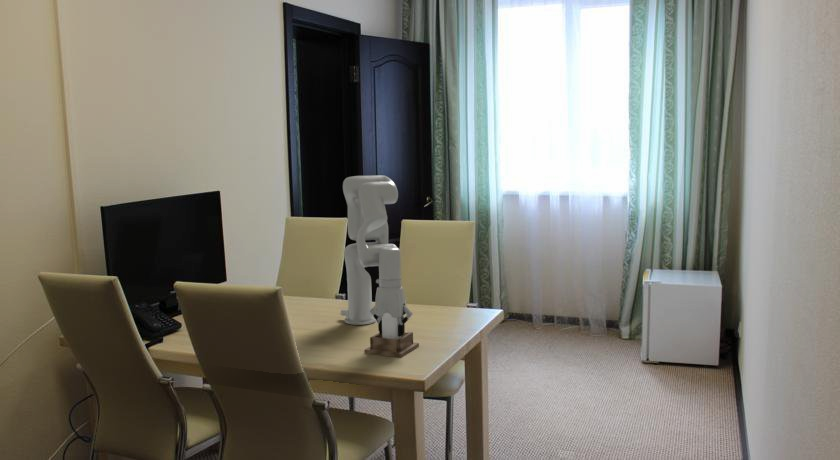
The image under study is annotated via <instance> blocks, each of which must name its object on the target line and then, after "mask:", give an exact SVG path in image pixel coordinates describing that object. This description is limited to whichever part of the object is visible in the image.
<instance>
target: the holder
mask: <svg viewBox="0 0 840 460" xmlns="http://www.w3.org/2000/svg"><path fill="white" fill-rule="evenodd" d="M369 343H370V346H368V347H366V348H365V349H364V354H367V355H368V354H369V355H379V356H388V357H396V358H403V357H404V356H406V355H408V354H410V353H411V352H412V351H414V350H416V349H417V348H418V347H420V343H419V342H414V332H413V331H411V332H410V331H405V332H404V335H402V336H401V338H399V339H388V338H382V334H379V332H378V333H376V334H374V335H373V336H370V337H369Z"/></svg>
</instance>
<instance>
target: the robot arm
mask: <svg viewBox="0 0 840 460" xmlns="http://www.w3.org/2000/svg"><path fill="white" fill-rule="evenodd" d="M342 191H343V195H344V198H345V201H346V205H347V235H348V238H349V239H350V240H352V241H355V243H351V244H348V245H347V246H346V247H345V248H344V250H343V255H344V256H343V259H344V262H345V263H344V264H345V268H346V281H347V282H346V283H347V309H341V310H340V313H339V314H340V316H345V318H344V323H345V324H347V325H354V326H363V325H370V324H373V323H377V325H378V327H377V328H378V333H379V334H382V316H383V315H384V314H385V313H389V314H391V316H392V317H393V318H397V319H398V322H399V325H398V336H402V335H404V332H406V331H405V328H406V327H405V324H406V322H408V321H409V320H410V319H411V317H412V316H413V314H414V313H413V312H412V311H411V310H410V309H409V308H408V306H407V302H406V295H405V294H406V293H405V290H404V286H402V253H401V249H400V248H399V247H398V246H397V245H396V244H394V243H389V224H388V215H387V209H386V205H393V204H396V203H397V202H398V198H399V190H398V188H397V185H396V183H395V182H394V181H393V180H392V179H391V178H390V177H388V176H386V175H378V174H377V175H354V176H353V175H352V176H348V177H346V178H345V179H344V180H343V182H342ZM371 240H373V242H366V241H371ZM374 240H375V241H374ZM368 267H378V272H379V273H378V276H379V277H378V278H377V279H376V280H375V283H376V284H378V287H376V293H375V299H374V300H375V301H374V306H373V299H372V297H373V295H372V277H371V275H370V273H369V272H368V271H367V270H366V269H365V268H368Z"/></svg>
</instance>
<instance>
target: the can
mask: <svg viewBox="0 0 840 460" xmlns="http://www.w3.org/2000/svg"><path fill="white" fill-rule="evenodd" d="M398 325H399V322H398V319H397V318H393V317H392V316H391V314H389V313H385V314H384V315H383V316H382V338H388V339H399V338H401V336H398Z"/></svg>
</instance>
